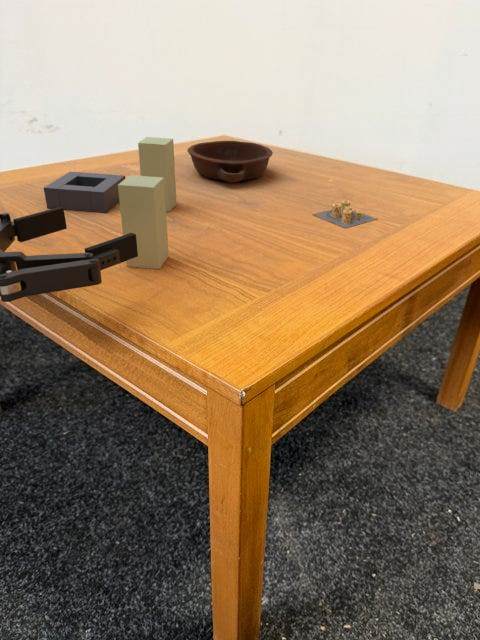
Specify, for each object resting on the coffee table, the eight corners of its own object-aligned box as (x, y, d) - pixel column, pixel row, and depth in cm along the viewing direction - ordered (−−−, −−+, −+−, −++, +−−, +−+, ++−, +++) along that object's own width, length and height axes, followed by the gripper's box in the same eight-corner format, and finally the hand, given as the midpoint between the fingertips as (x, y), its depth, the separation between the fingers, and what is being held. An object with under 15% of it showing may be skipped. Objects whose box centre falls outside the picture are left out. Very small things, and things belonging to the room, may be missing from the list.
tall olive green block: (126, 266, 74) (117, 184, 68) (137, 253, 78) (129, 175, 72) (159, 269, 74) (153, 187, 68) (168, 256, 78) (163, 177, 72)
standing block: (143, 209, 94) (137, 142, 88) (151, 201, 98) (146, 136, 92) (169, 211, 93) (165, 144, 88) (176, 203, 97) (173, 138, 91)
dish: (184, 188, 105) (183, 161, 102) (191, 160, 124) (190, 136, 121) (275, 190, 106) (276, 163, 104) (268, 161, 125) (269, 138, 122)
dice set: (346, 224, 91) (347, 213, 90) (324, 215, 94) (325, 204, 93) (366, 218, 94) (368, 207, 93) (345, 210, 97) (346, 199, 96)
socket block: (47, 208, 93) (43, 187, 91) (72, 190, 102) (69, 171, 100) (106, 212, 92) (103, 192, 90) (127, 194, 101) (125, 175, 99)
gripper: (-126, 285, 61) (42, 234, 75) (-3, 367, 48) (171, 288, 63) (-152, 220, 57) (32, 179, 71) (-24, 291, 44) (167, 224, 59)
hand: (97, 230), depth 67 cm, fingers open, 13 cm apart
